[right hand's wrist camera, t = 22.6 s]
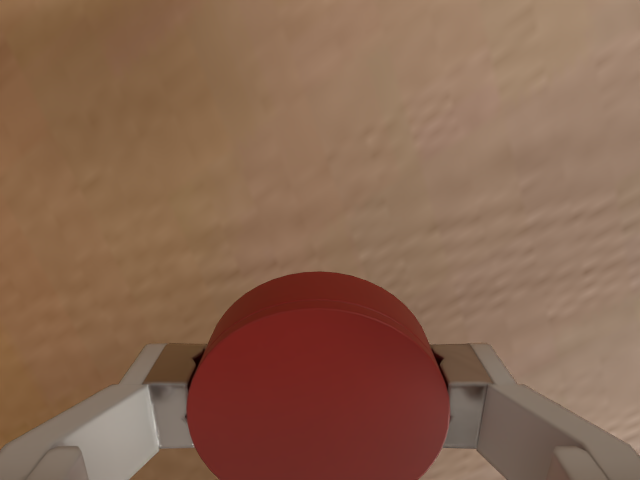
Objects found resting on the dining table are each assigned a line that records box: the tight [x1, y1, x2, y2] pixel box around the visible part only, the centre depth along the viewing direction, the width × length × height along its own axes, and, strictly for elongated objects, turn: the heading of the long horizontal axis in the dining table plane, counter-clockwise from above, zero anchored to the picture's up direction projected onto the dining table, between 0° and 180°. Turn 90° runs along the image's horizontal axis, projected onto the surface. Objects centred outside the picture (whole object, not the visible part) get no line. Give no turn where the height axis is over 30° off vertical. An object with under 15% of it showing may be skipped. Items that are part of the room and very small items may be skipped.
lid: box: [186, 272, 450, 480], centre depth 9 cm, size 6×6×2 cm
